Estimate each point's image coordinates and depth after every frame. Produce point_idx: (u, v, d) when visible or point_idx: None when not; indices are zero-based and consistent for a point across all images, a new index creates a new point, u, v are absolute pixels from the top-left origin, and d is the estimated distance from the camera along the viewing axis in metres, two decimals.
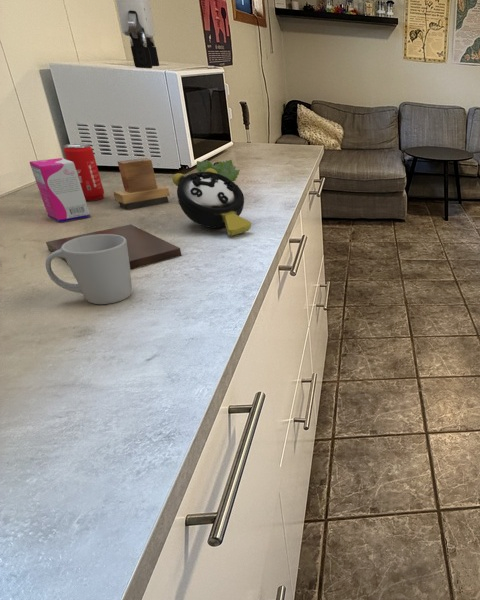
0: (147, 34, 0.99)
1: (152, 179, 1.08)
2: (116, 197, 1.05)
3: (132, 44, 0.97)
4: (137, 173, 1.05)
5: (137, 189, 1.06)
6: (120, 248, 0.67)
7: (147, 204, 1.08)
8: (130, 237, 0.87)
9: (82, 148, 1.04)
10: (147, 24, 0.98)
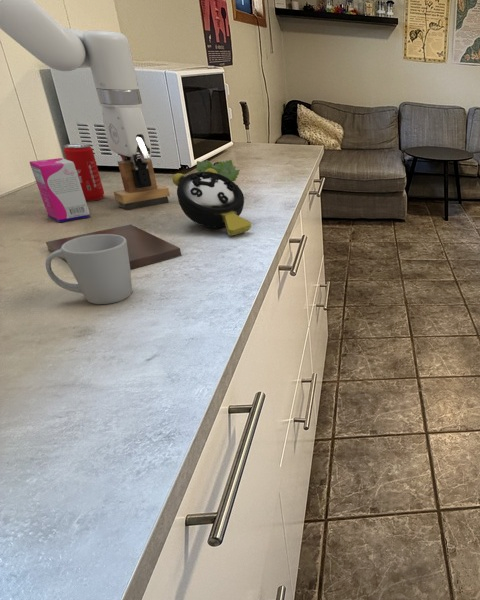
0: (150, 152, 1.03)
1: (152, 179, 1.08)
2: (116, 197, 1.05)
3: (137, 170, 1.03)
4: None
5: (137, 189, 1.06)
6: (120, 248, 0.67)
7: (147, 204, 1.08)
8: (130, 237, 0.87)
9: (82, 148, 1.04)
10: None
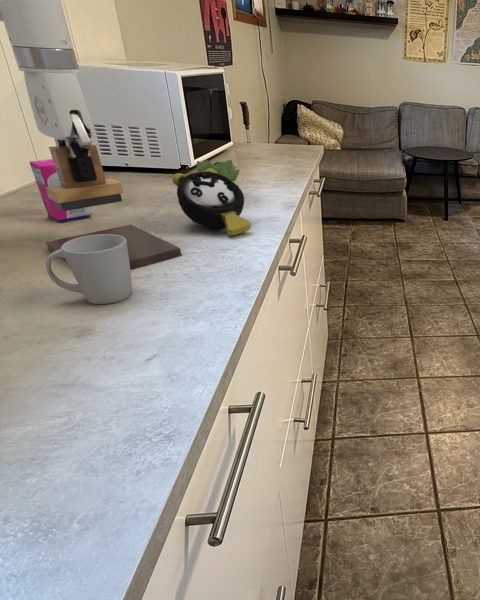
0: (92, 135, 0.78)
1: (98, 171, 0.82)
2: (49, 195, 0.80)
3: (74, 158, 0.78)
4: None
5: (77, 184, 0.80)
6: (120, 248, 0.67)
7: (92, 204, 0.83)
8: (130, 237, 0.87)
9: None
10: None
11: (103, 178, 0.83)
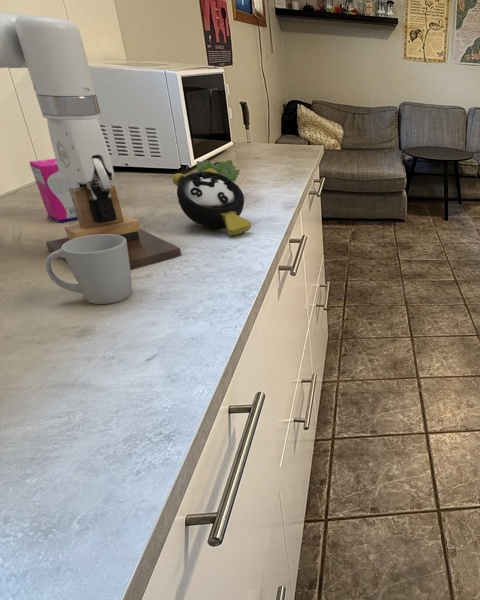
0: None
1: (116, 210, 0.83)
2: (68, 235, 0.80)
3: (95, 200, 0.79)
4: None
5: (96, 224, 0.81)
6: (120, 248, 0.67)
7: None
8: None
9: None
10: None
11: (121, 217, 0.84)
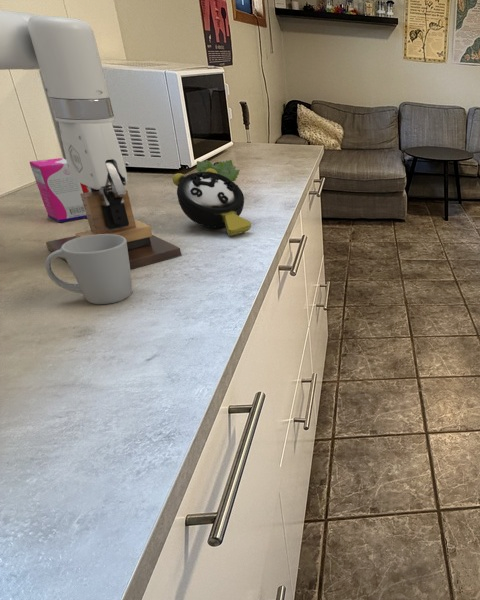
0: (126, 183, 0.76)
1: (129, 216, 0.81)
2: None
3: (108, 206, 0.77)
4: None
5: (108, 230, 0.79)
6: (120, 248, 0.67)
7: None
8: None
9: None
10: None
11: (133, 222, 0.82)
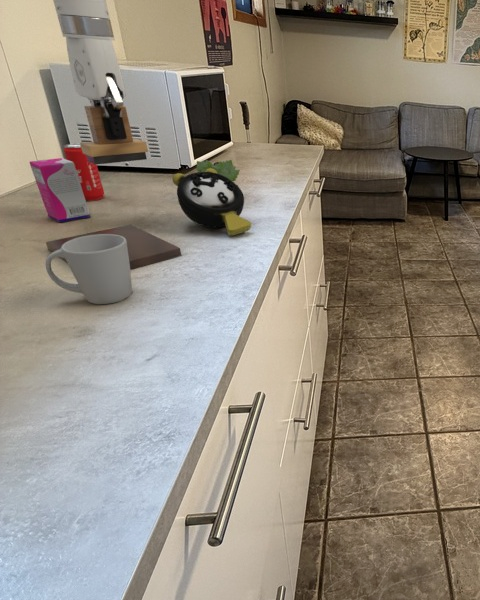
0: None
1: (127, 130, 0.92)
2: (83, 149, 0.89)
3: (108, 117, 0.87)
4: None
5: (108, 141, 0.90)
6: (120, 248, 0.67)
7: (120, 159, 0.92)
8: (130, 237, 0.87)
9: None
10: None
11: (130, 137, 0.93)
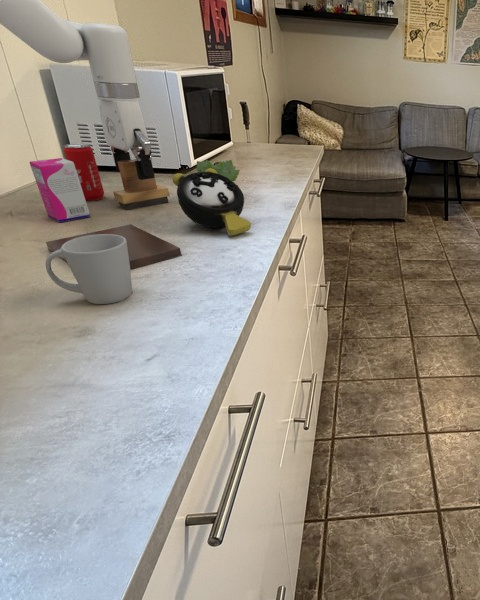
0: None
1: (152, 179, 1.08)
2: (116, 197, 1.05)
3: (140, 159, 1.00)
4: None
5: (137, 189, 1.06)
6: (120, 248, 0.67)
7: (147, 204, 1.08)
8: (130, 237, 0.87)
9: (82, 148, 1.04)
10: None
11: (155, 184, 1.09)
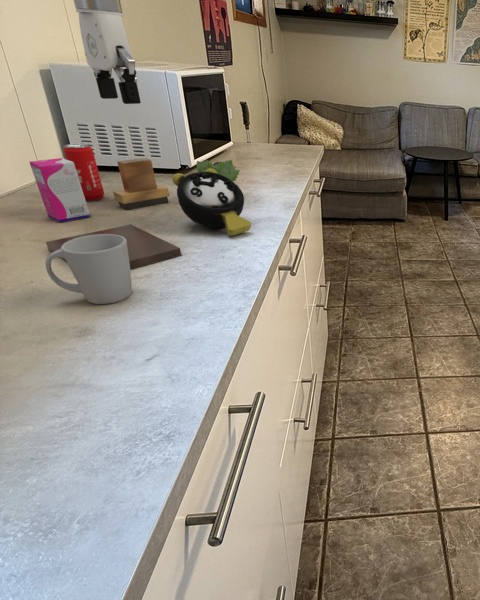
0: None
1: (152, 179, 1.08)
2: (116, 197, 1.05)
3: (124, 80, 0.93)
4: (137, 173, 1.05)
5: (137, 189, 1.06)
6: (120, 248, 0.67)
7: (147, 204, 1.08)
8: (130, 237, 0.87)
9: (82, 148, 1.04)
10: None
11: (155, 184, 1.09)
